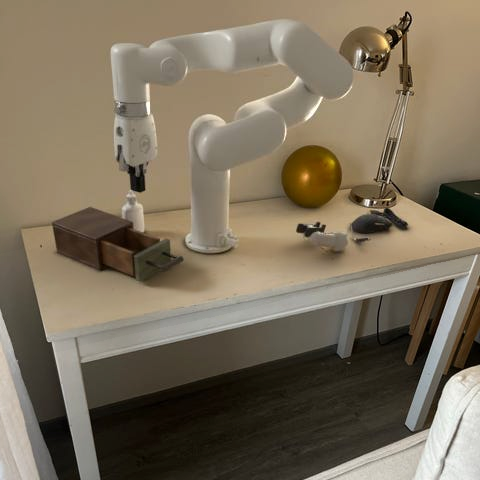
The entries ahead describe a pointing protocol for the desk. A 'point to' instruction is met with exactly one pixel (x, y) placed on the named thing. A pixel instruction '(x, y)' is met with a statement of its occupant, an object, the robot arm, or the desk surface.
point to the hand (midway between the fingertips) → (138, 190)
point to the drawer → (137, 253)
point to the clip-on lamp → (326, 236)
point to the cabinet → (86, 234)
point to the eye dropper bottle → (133, 212)
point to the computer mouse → (376, 221)
